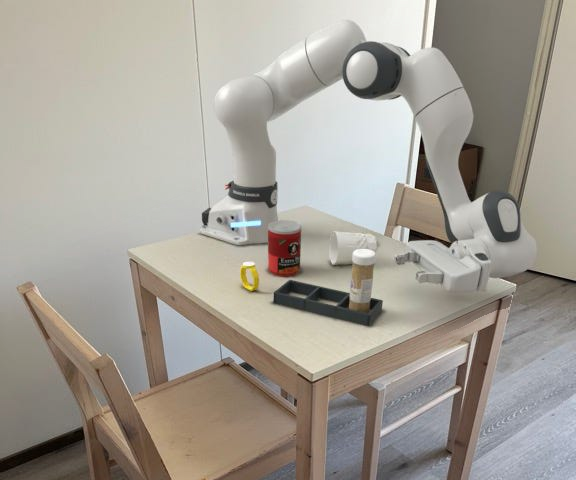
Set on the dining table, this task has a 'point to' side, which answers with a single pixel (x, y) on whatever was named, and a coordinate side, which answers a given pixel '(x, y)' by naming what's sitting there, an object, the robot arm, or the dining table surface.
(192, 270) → the dining table surface
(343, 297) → the compartment tray
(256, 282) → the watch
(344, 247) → the white cup
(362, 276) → the sprinkles bottle
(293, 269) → the canned food
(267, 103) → the robot arm
